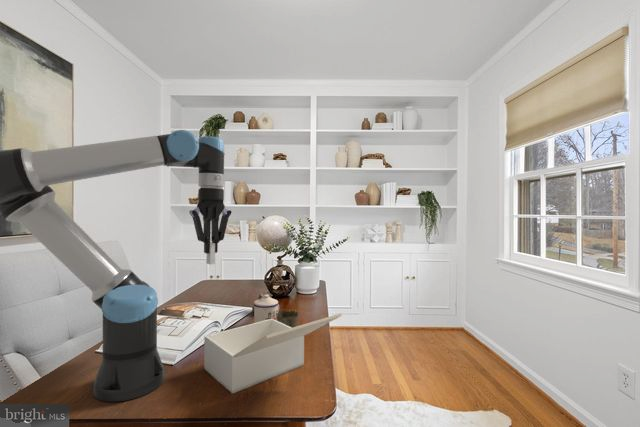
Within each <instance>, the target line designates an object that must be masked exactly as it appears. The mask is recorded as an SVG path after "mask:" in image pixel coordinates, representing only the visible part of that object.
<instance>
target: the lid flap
mask: <svg viewBox="0 0 640 427" xmlns="http://www.w3.org/2000/svg"><path fill="white" fill-rule="evenodd" d="M342 315H343V314H342V313H337V314H334V315H330V316H328V317H323V318H320V319H317V320H313V321H310V322H307V323H303V324H301V325H296V327H293V328H289V329H286V330H282V331H279V332H276V333H272V334H269V335H266V336H264V337H263V338H261V339H259V340H258V341H256V342H254V343H253V344H251V345H250V346H248V347H246V348H245V349H243V350H242V351H240V352H238V353H237V354H235V355H233V356H234V358H236V357H239V356H242V355H245V354H248V353H251V352H254V351H258V350H261V349H264V348H267V347H270V346H273V345H276V344H279V343H282V342H285V341H288V340H292V339H295V338H298V337H301V336H304V337H305V336H307V335H308V334H310V333H312V332H314V331H316V330H318V329H319V328H321V327H323V326H325V325H327V324H328V323H331V322H333V321H335V320H336V319H339V318H340V317H342Z"/></svg>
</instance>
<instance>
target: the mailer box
mask: <svg viewBox="0 0 640 427" xmlns="http://www.w3.org/2000/svg"><path fill="white" fill-rule="evenodd" d="M289 328H291V327H289V326H287V325H285V324H283V323H281V322H278V321H276V320H274V319H269V320H265V321H261V322H257V323H254V322H253V323H251V324H250V323H249V324H245V325H241V326H238V327H234V328H230V329H226V330H222V331H219V332H214V333H211V334H208V335H204V337H203V338H204V339H203V340H204V344H203V345H204V349H203V350H204V352H203V353H204V354H203V356H204V358H203V359H204V360H203V366H204V367H203V369H204V370H205V371H206V372H207V373H208V374H210V375H211V376H212V378H214V379H215V380H216V381H217V382H218V383H219V384H221V386H223V387H224V388H225V389H226V390H227V391H229V392H230V394H236V393H237V392H240V391H242V390H245V389H248V388H250V387H253V386H255V385H258V384H260V383H263V382H265V381H268V380H270V379H272V378H275V377H277V376H280V375H283V374H286V373H287V372H290V371H292V370H295V369H297V368H299V367H300V368H301V367H302V366H304V365H305V335H304V336H301V337H298V338H295V339H292V340H288V341H285V342H282V343H279V344H276V345H273V346H270V347H267V348H264V349H261V350H258V351H254V352H251V353H248V354H245V355H242V356H239V357H236V358H234V356H233V355H235V354H237V353H238V352H240V351H242V350H243V349H245V348H246V347H248V346H250V345H251V344H253V343H254V342H256V341H258V340H259V339H261V338H263V337H264V336H266V335H269V334H272V333H276V332H279V331H282V330H286V329H289Z"/></svg>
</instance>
